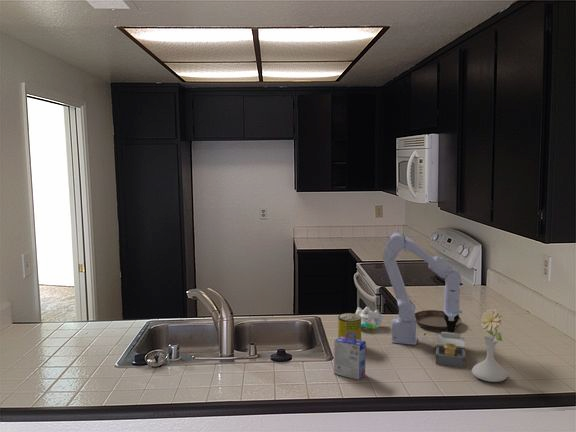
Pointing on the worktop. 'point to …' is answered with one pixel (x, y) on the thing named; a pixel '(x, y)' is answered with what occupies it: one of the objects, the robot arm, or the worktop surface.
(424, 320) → the plant saucer
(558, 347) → the worktop surface
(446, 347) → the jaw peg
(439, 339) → the lid
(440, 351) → the housing
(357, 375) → the ink cartridge box
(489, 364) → the flower in vase
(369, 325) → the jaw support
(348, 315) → the yellow tin can
